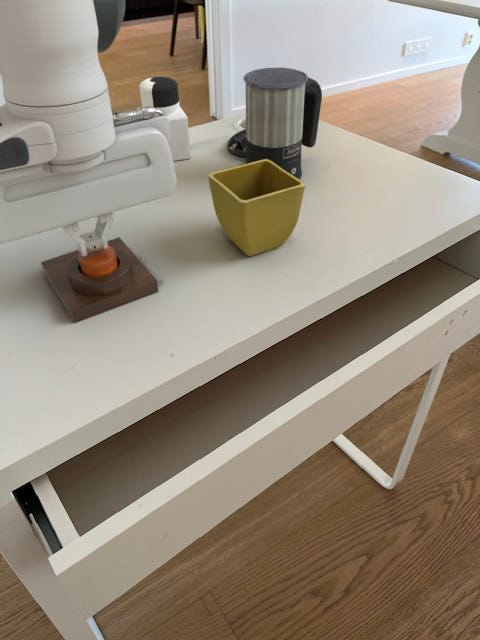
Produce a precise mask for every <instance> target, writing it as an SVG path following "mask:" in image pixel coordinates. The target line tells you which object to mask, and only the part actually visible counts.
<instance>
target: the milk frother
mask: <svg viewBox="0 0 480 640" xmlns="http://www.w3.org/2000/svg"><path fill="white" fill-rule="evenodd" d="M242 80H243V82H244V83H245V129H242V130H240V131H238V132H237V133H235V134H233V135H232V136H231V137H230V138H229V139H228V142H227V145H226V147H227V151H228V152H229V154H231V155H232V156H234V157H235V158H238V159H245V164H248V163H252V162H256V161H260V160H264V159H268V160H270V161H272V162H273V163H275V164H276V165H278V166H279V167H280V168H282V169H283V170H285V171H286V172H287V173H289V174H291V175H293V176H294V177H296V178H297V179H299V180H301V178H302V176H303V170H302V146H304V147H306V148H313V147H314V146H315V145H316V142H317V136H318V130H319V122H320V114H321V107H322V100H323V92H322V87H321V85H320V83H319V82H318V81H317V80H315V79H313V78H311V77H309V76H308V74H307V73H305V72H304V71H301V70H298V69H295V68H291V67H290V68H289V67H262V68H257V69H254V70H251V71H249V72H247V73H245V74H244V75H243V77H242Z"/></svg>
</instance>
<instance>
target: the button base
mask: <svg viewBox="0 0 480 640" xmlns="http://www.w3.org/2000/svg"><path fill="white" fill-rule="evenodd" d="M107 243H108V246H111V247H112V248H113V249H114V250H115V253H116V258H117V263H118V267H117V269H116V270H115V271H113V272H112V273H109V274H106V275H103V276H95V277H89V276H86V275H84V274H83V273H82V270H81V267H80V263H79V259H78V255H79V250H78V249H77V250H74V251H72V252H68V253H65V254H61V255H58V256H55V257H52V258H49V259H46V260H43V261H41V262H40V265H41V268H42V271H43V274H44V275H45V277H46V279H47V280H48V282H49V284H50V285H51V287H52V289H53V290H54V292H55V294H56V295H57V298H58V299H59V300H60V302H61V303H62V306H63V307H64V309H65V310H66V312H67V314H68V316H69V317H70V319H71V320H72V322H73V324H77V323H80V322H82V321H85V320H87V319H90V318H93V317H96V316H98V315H101V314H104V313H106V312H109V311H112V310H113V309H114V310H115V309H117V308H120V307H122V306H125V305H128V304H130V303H134V302H136V301H138V300H141V299H143V298H146V297H150V296H152V295H155V294H157V293H159V292H160V291H159V284H158V279H156V278H155V276H154V275H153V274H152V273H151V272H150V270H149V269H148V268H147V267H146V266H145V265H144V264H143V263H142V261H141V260H140V259H139V258H138V256H137V255H136V254H134V252H133V251H132V250H131V249H130V248H129V246H128V245H127V244H126V243H125V242H124V240H122V238H121V237H116V238H112V239H109V240H107Z"/></svg>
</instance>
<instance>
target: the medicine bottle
mask: <svg viewBox="0 0 480 640" xmlns="http://www.w3.org/2000/svg"><path fill="white" fill-rule="evenodd" d="M138 87H139V95H140V102H141V106H139V107H137V108H136V109H140V108H141V107H145V106H152V107H154V109H158V110H160V111H162V112H163V113H165V115H166V116H167V118H168V120H169V126H170V141H169V147H170V151H171V154H172V158H173V162H176V161H183V160H189V159H191V157H192V155H191V142H190V132H189V118H188V116H187V114H186V113H185V111H184V110H183V108H182V107H181V106H180V96H179V94H180V93H179V84H178V82H177V81H176V80H175V79H173V78H170V77H168V76H153V77H149V78H145V79H144V80H143V81H141V82H140V83H139V86H138ZM156 115H159V114H155V116H156Z"/></svg>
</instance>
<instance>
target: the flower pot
mask: <svg viewBox="0 0 480 640" xmlns="http://www.w3.org/2000/svg"><path fill="white" fill-rule="evenodd" d="M207 179H208V184H209V189H210V195H211V200H212V204H213V208H214V212H215V216H216V219H217V220H218V223H219V224H220V226H221V228H222V229H223V231H224V233H225V234H226V235H227V237H228V239H229V240H230V241H231V242H232V243H233V244H234V245H235V246H236V247H237V248H239V249H240V250H241V251H242V252H243V253H244V254H245V255H246V256H248V257H252V256H256V255H258V254H261V253H264V252H267V251H271V250H274V249H278V248H279V247H282V246H283V245H284V244H285V243H286V242H287V241H288V239H289V238H290V237H291V235H292V234H293V232H294V230H295V229H296V226H297V223H298V221H299V217H300V214H301V213H300V212H301V208H302V203H303V198H304V193H305V188H306V183H305V182H304V181H302V180H301V179H297V178H296V177H294V176H293V175H291V174H289V173H287V172H286V171H285V170H283V169H282V168H280V167H279V166H278V165H276V164H275V163H273V162H272V161H270V160H268V159H264V160H260V161H256V162H252V163H248V164H246V163H245V164H241V165H236V166H232V167H229V168H226V169H221V170H216V171H214V172H211V173H207Z"/></svg>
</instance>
